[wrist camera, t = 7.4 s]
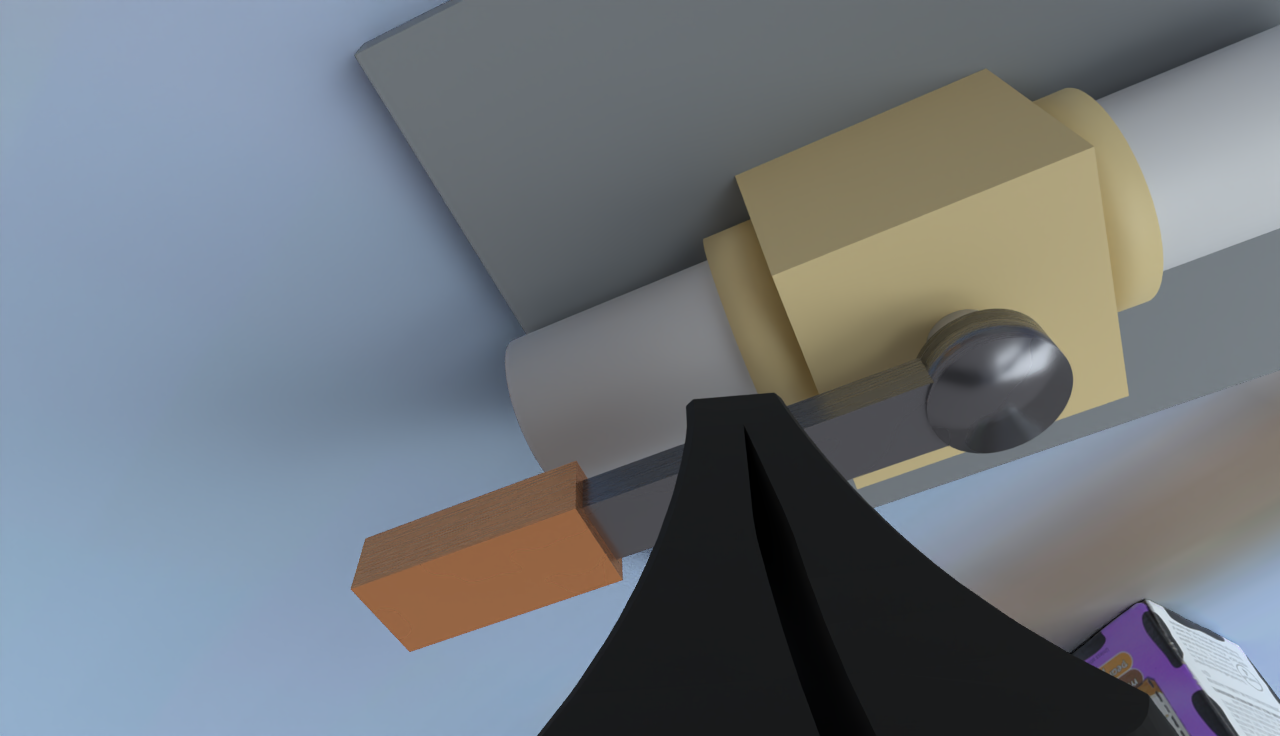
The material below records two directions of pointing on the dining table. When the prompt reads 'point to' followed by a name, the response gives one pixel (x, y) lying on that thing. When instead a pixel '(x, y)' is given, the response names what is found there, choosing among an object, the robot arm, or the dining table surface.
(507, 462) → the dining table surface
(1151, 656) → the candy box
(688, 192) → the valve base
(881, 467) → the valve lever
